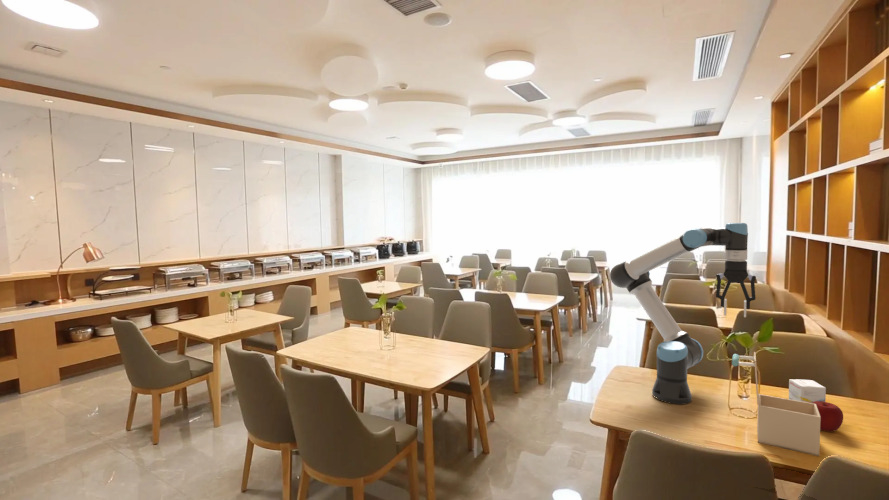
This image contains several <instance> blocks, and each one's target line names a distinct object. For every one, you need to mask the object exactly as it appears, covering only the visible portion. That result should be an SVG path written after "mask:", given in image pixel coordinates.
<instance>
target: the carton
mask: <svg viewBox="0 0 889 500" xmlns="http://www.w3.org/2000/svg"><path fill="white" fill-rule="evenodd" d="M758 401H759V405H758V404H757V420H756V421H757V423H756V424H757V426H756V427H757V428H756V429H757V443H758V444H759V443H760V444H763V445H768V446H772V447H776V448H781V449H786V450H790V451H794V452H798V451H799V452H798V453H802V452H803V453H802V454H807V455H811V456H812V455H813V456H816V457H820V447H821V444H820V443H821V442H820V441H821V430H820V420H821V417H820V414H819V411H818V408H817V406H816V404H814V403H808V402H802V401H796V400H791V399H789V398H783V397H778V396H771V395H767V394H762V393H761V394H760V393H758Z"/></svg>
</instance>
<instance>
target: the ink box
mask: <svg viewBox="0 0 889 500" xmlns="http://www.w3.org/2000/svg"><path fill="white" fill-rule="evenodd" d="M788 380H789V381H788V399H791V400H796V401H802V402H808V403H812V402H815V401H823V402H826V393H827V392H826V391H827V388H826V386H823V385H821V384H820V383H818V382H817V381H815V380H811V379H799V378H798V379H797V378H796V379H788Z"/></svg>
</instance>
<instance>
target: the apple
mask: <svg viewBox="0 0 889 500" xmlns="http://www.w3.org/2000/svg"><path fill="white" fill-rule="evenodd" d="M812 403H814V404H816V406H817V408H818V411H819V414H820V417H821V420H820V431H823V432H835V431H837V430H838V429H840V427H841V425H843V422H844V413H843V410H842V409H841V408H840V407H839V406H837V404H834V403H830V402H827V401H825V402H823V401H815V402H812Z"/></svg>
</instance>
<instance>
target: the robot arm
mask: <svg viewBox="0 0 889 500" xmlns="http://www.w3.org/2000/svg"><path fill="white" fill-rule="evenodd" d="M748 235H749V233H748V224H747V223H745V222H728V223H725V227H697V228H691V229H688V230H686V231H685V232H684V233H683V234H682V235H680V236H677V237H675V238H674V239H671V240H670V241H668V242H666V243H664V244H662V245H660V246H657V247H656V248H654V249H651V250H650V251H648V252H646V253H644V254H643V255H640V256H639V257H636V258H634V259H632V260H625V261H623V262H620V263H619V264H616V265H614V266H613V267H612V268H611V270H610V272H609V280H610V282H611V283H612V284H613V285H614V286H616V287H617V288H622V289H625V288H626V290H627V291H628V293H629V294H630V295H634V296H635V297H636V299H637V300H638V302H639V303H640V305H641V307H642V308H643V310H644V311H645V313H646V314H647V316H648V318H649V320H651V322H652V323H653V324H654V326H655V328H656V329H657V331H658V332H659V334H660V335H661V337H662V338H663V341H662V342H660V343H658V344H657V348H656V379H655V382H654V384H653V386H652V388H651V391H652V393H651V395H652V394H653V395H654V396H655V397H657V398H658V399H660V400H663V401H666V402H665V403H667V402H670V403H669V404H672V403H675V404H674V405H686V404H690V403H691V402H692V401H693V400H692V393H691V389H690V387H689V384H688V369H689V368H692V367H694V366H697V365H698V364H699V363H700V362H701V361H702V359H703V357H704V348H703V346H702V344H701V343H700V342H699V341H698V340H696V339H694V338H691V336H690V335H689V333H688V332H687V331H685V330H682V329H681V327H680V326H679V324H678V323H677V322H676V320H675V318H674V317H673V316H672V314H671V313H670V312H669V310H668V308H667V307H666V306H665V304H664V303H663V301H662V300H661V298H660V297H659V296H658V294H657V292H656V291H655V290H654V288H653V287H652V284H653V280H652V279H651V277H650V274H651V273H650V272H651V271H652V270H654V269H656V268H658V267H661V266H663V265H665V264H667V263H669V262H671V261H673V260H676V259H678V258H679V257H681V256H684V255H686V254H688V253H690V252H693V251H694V250H698V249H699V248H702V247H707V246H721V247H722V246H724V250H725V251H724V258H725V262H724V272H722V273H717V274H716V279H717V282H716V289H715V290H716V292H715V297H716V299H720V307H721V308H723V316H727V302H728V301H727V300H728V299H727V298H726V295H727V293H728V291H729V289H730V285H731V284H732V283H733V284H734V283H736V284H740V287H741V289H742V292H743V294H744V295H743V296H744V298H745V299H744V300H743V318H747V310H750V309H751V301H755V300H756V287H755V286H756V285H755V282H756V281H755V280H756V278H757V276H756V275H754V274H753V275H752V274H749V273H748V261H747V260H748V241H749V240H748V239H749V236H748ZM723 278H726V280H727V282H726V285H725V287H724V290H723V292H722V294H721V288H722V287H721V285H722V279H723ZM747 278H748V280H749V281H750V291H751V292H750V293H751V296H750V294H749V293H748V290H747V287H746V284H745V280H746V279H747ZM653 395H652V396H653ZM655 397H654V398H655ZM658 399H657V400H658ZM660 400H659V401H660ZM663 401H662V402H663Z"/></svg>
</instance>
